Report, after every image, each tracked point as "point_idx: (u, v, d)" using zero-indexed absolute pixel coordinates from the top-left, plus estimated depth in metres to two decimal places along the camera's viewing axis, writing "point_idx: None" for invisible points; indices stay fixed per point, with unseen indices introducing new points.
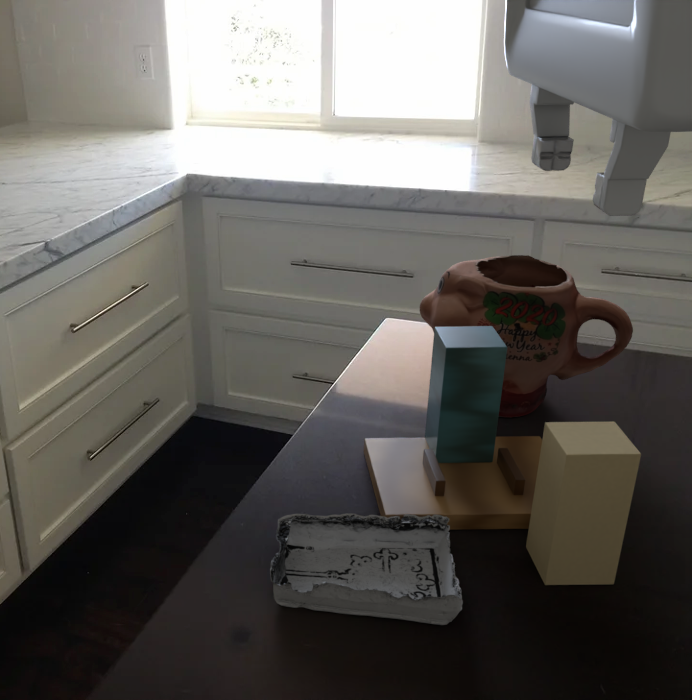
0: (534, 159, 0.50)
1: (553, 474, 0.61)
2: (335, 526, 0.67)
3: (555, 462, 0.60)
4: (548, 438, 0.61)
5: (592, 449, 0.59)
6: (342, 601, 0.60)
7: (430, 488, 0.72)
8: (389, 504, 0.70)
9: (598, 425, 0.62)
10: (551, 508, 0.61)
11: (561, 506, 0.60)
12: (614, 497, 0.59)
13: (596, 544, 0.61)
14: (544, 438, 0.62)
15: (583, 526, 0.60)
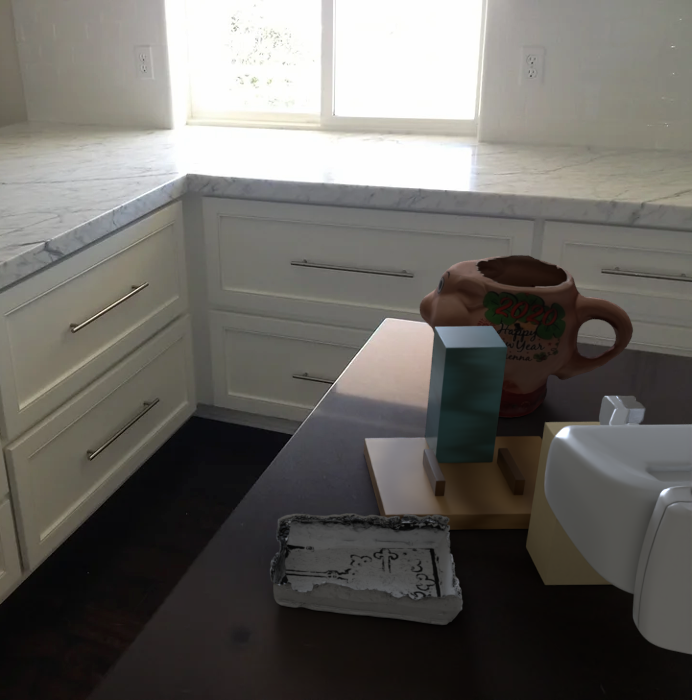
0: None
1: None
2: (335, 526, 0.67)
3: None
4: (548, 438, 0.61)
5: None
6: (342, 601, 0.60)
7: (430, 488, 0.72)
8: (389, 504, 0.70)
9: None
10: None
11: None
12: None
13: None
14: (544, 438, 0.62)
15: None
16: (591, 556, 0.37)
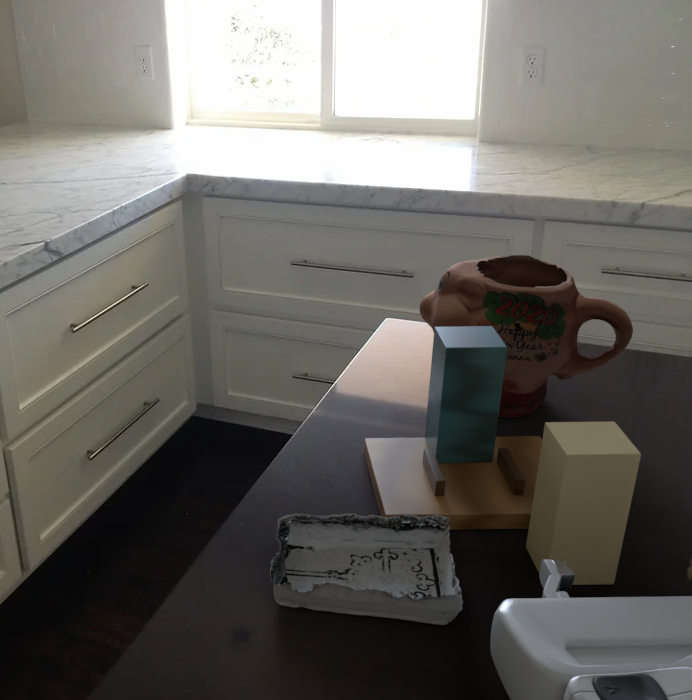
0: None
1: (553, 474, 0.61)
2: (335, 526, 0.67)
3: (555, 462, 0.60)
4: (548, 438, 0.61)
5: (592, 449, 0.59)
6: (342, 601, 0.60)
7: (430, 488, 0.72)
8: (389, 504, 0.70)
9: (598, 425, 0.62)
10: (551, 508, 0.61)
11: (561, 506, 0.60)
12: (614, 497, 0.59)
13: (596, 544, 0.61)
14: (544, 438, 0.62)
15: (583, 526, 0.60)
16: None
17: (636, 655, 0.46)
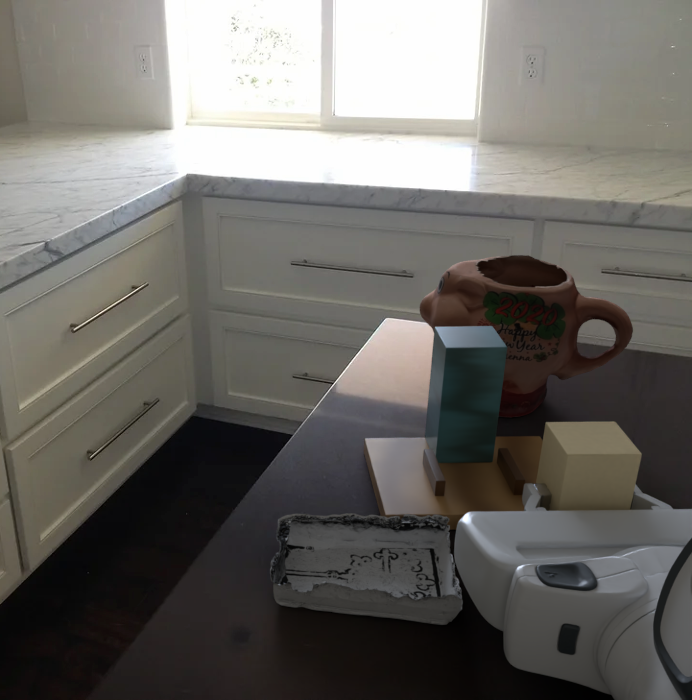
0: None
1: (554, 474, 0.61)
2: (335, 526, 0.67)
3: (556, 462, 0.60)
4: (549, 438, 0.61)
5: (593, 448, 0.59)
6: (342, 601, 0.60)
7: (430, 488, 0.72)
8: (389, 504, 0.70)
9: (599, 425, 0.62)
10: (551, 508, 0.61)
11: (562, 506, 0.60)
12: (614, 497, 0.59)
13: None
14: (545, 437, 0.62)
15: None
16: (479, 606, 0.54)
17: (576, 554, 0.54)
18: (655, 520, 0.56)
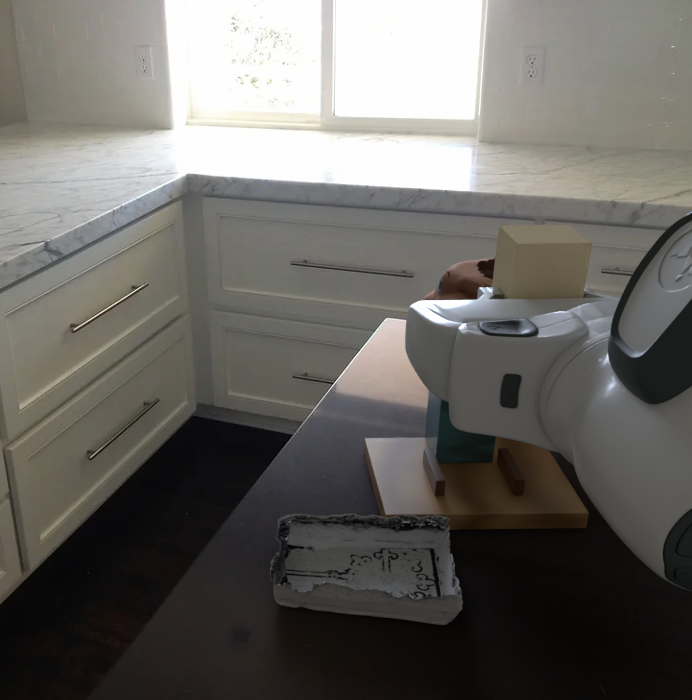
0: None
1: (506, 272, 0.61)
2: (335, 526, 0.67)
3: (508, 259, 0.60)
4: (502, 239, 0.62)
5: (544, 240, 0.59)
6: (342, 601, 0.60)
7: (430, 488, 0.72)
8: (389, 504, 0.70)
9: (552, 227, 0.62)
10: None
11: None
12: (566, 291, 0.60)
13: None
14: (498, 241, 0.62)
15: None
16: (426, 381, 0.55)
17: None
18: None
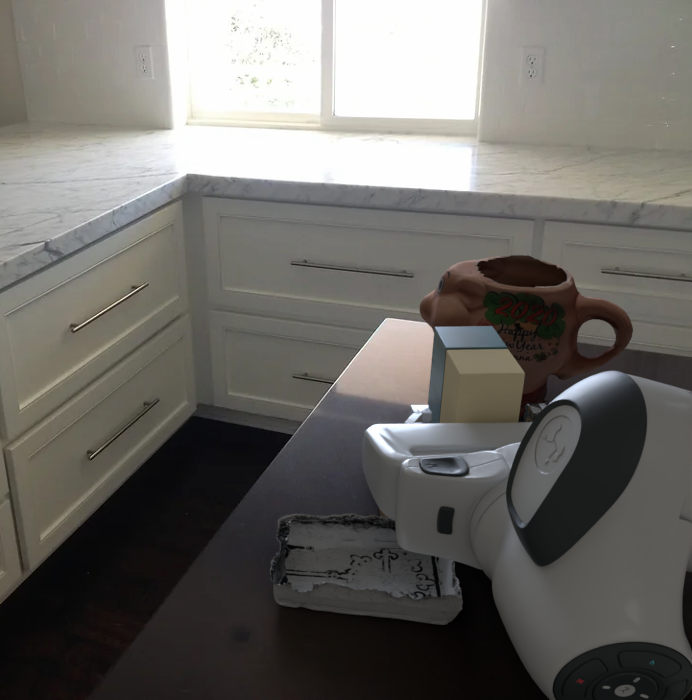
0: None
1: (452, 394, 0.69)
2: (335, 526, 0.67)
3: (452, 383, 0.68)
4: (448, 363, 0.69)
5: (483, 369, 0.67)
6: (342, 601, 0.60)
7: None
8: None
9: (492, 352, 0.70)
10: None
11: (458, 421, 0.68)
12: (503, 413, 0.67)
13: None
14: (446, 363, 0.70)
15: None
16: (378, 501, 0.63)
17: None
18: None
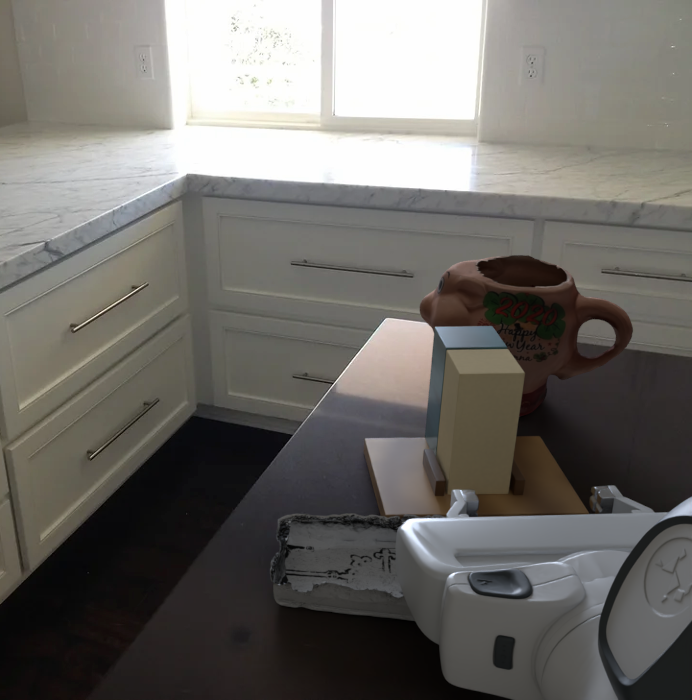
0: None
1: (452, 394, 0.69)
2: (335, 526, 0.67)
3: (452, 383, 0.68)
4: (448, 363, 0.69)
5: (483, 369, 0.67)
6: (342, 601, 0.60)
7: (430, 488, 0.72)
8: (389, 504, 0.70)
9: (492, 352, 0.70)
10: (450, 425, 0.69)
11: (458, 421, 0.68)
12: (503, 413, 0.67)
13: (490, 456, 0.69)
14: (446, 363, 0.70)
15: (478, 439, 0.68)
16: (417, 618, 0.51)
17: (519, 561, 0.50)
18: (608, 525, 0.53)
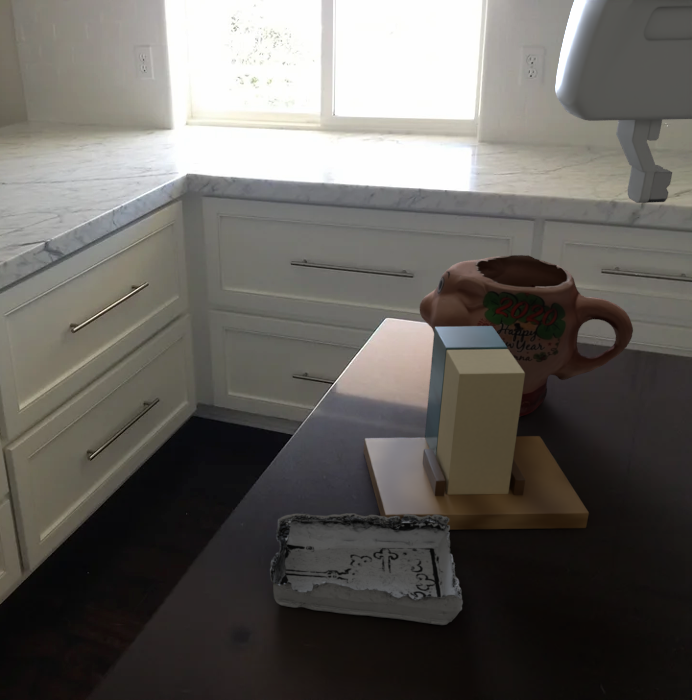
0: (649, 196, 0.47)
1: (452, 394, 0.69)
2: (335, 526, 0.67)
3: (452, 383, 0.68)
4: (448, 363, 0.69)
5: (483, 369, 0.67)
6: (342, 601, 0.60)
7: (430, 488, 0.72)
8: (389, 504, 0.70)
9: (492, 352, 0.70)
10: (450, 425, 0.69)
11: (458, 421, 0.68)
12: (503, 413, 0.67)
13: (490, 456, 0.69)
14: (446, 363, 0.70)
15: (478, 439, 0.68)
16: (601, 5, 0.42)
17: None
18: None
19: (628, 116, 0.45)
